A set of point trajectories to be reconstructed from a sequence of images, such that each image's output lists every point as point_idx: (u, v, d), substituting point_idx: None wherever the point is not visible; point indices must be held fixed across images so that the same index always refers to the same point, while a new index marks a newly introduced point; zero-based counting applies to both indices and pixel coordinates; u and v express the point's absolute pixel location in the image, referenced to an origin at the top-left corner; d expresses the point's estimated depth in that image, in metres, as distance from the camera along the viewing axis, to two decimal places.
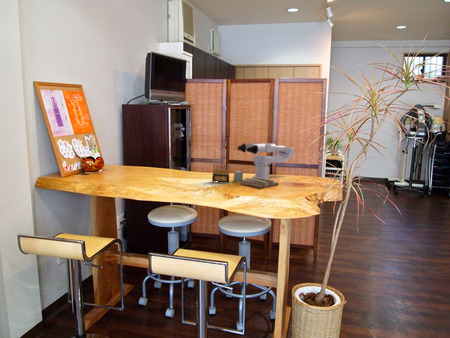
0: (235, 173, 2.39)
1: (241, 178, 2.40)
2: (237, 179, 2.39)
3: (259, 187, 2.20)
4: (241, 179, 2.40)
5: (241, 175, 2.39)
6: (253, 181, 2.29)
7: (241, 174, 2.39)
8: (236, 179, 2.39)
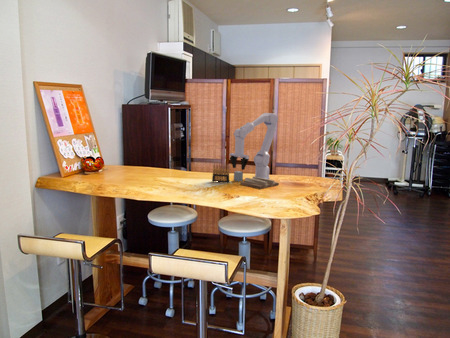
0: (235, 173, 2.39)
1: (241, 178, 2.40)
2: (237, 179, 2.39)
3: (259, 187, 2.20)
4: (241, 179, 2.40)
5: (241, 175, 2.39)
6: (253, 181, 2.29)
7: (241, 174, 2.39)
8: (236, 179, 2.39)
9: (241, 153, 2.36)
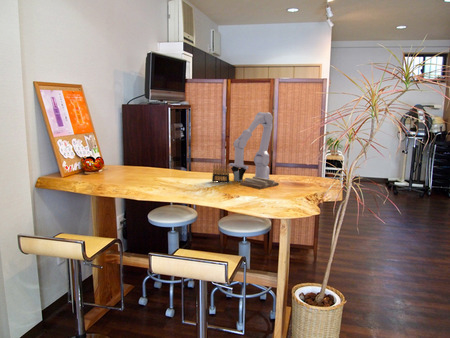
0: (235, 173, 2.39)
1: None
2: (237, 179, 2.39)
3: (259, 187, 2.20)
4: (241, 179, 2.40)
5: None
6: (253, 181, 2.29)
7: None
8: (236, 179, 2.39)
9: (241, 163, 2.37)
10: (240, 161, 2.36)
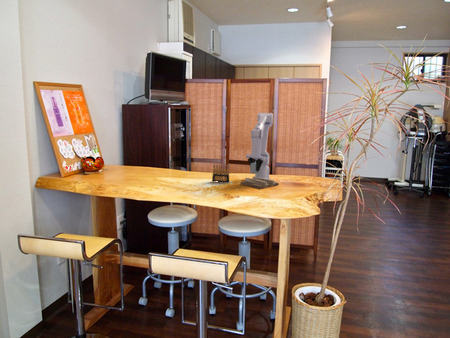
0: (252, 165, 2.31)
1: None
2: (254, 171, 2.30)
3: (259, 187, 2.20)
4: (258, 171, 2.32)
5: None
6: (253, 181, 2.29)
7: None
8: (253, 171, 2.31)
9: (258, 154, 2.28)
10: (257, 152, 2.28)
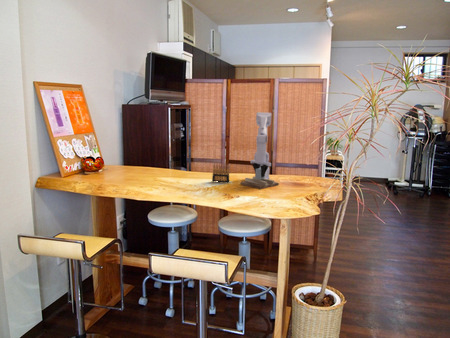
0: (257, 170, 2.29)
1: None
2: (259, 176, 2.28)
3: (259, 187, 2.20)
4: None
5: None
6: (253, 181, 2.29)
7: None
8: (258, 176, 2.29)
9: (263, 160, 2.27)
10: (262, 158, 2.26)
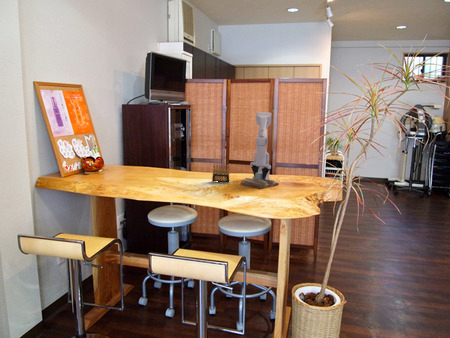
0: (256, 174, 2.30)
1: None
2: None
3: (259, 187, 2.20)
4: (263, 180, 2.30)
5: None
6: (253, 181, 2.29)
7: None
8: None
9: (263, 162, 2.27)
10: (262, 160, 2.26)
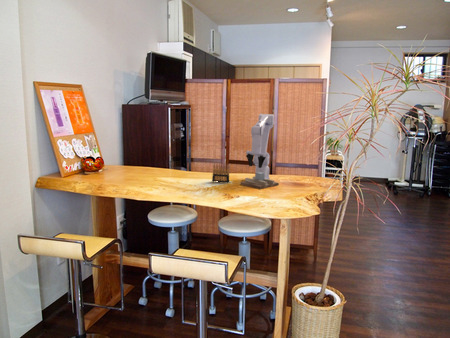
0: (256, 174, 2.30)
1: (263, 179, 2.30)
2: None
3: (259, 187, 2.20)
4: (263, 180, 2.30)
5: (262, 176, 2.30)
6: (253, 181, 2.29)
7: (263, 175, 2.30)
8: None
9: (258, 151, 2.30)
10: (258, 148, 2.30)
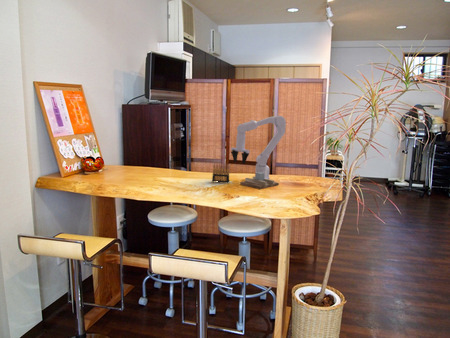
0: (256, 174, 2.30)
1: (263, 179, 2.30)
2: None
3: (259, 187, 2.20)
4: (263, 180, 2.30)
5: (262, 176, 2.30)
6: (253, 181, 2.29)
7: (263, 175, 2.30)
8: None
9: (242, 147, 2.45)
10: (241, 145, 2.45)
